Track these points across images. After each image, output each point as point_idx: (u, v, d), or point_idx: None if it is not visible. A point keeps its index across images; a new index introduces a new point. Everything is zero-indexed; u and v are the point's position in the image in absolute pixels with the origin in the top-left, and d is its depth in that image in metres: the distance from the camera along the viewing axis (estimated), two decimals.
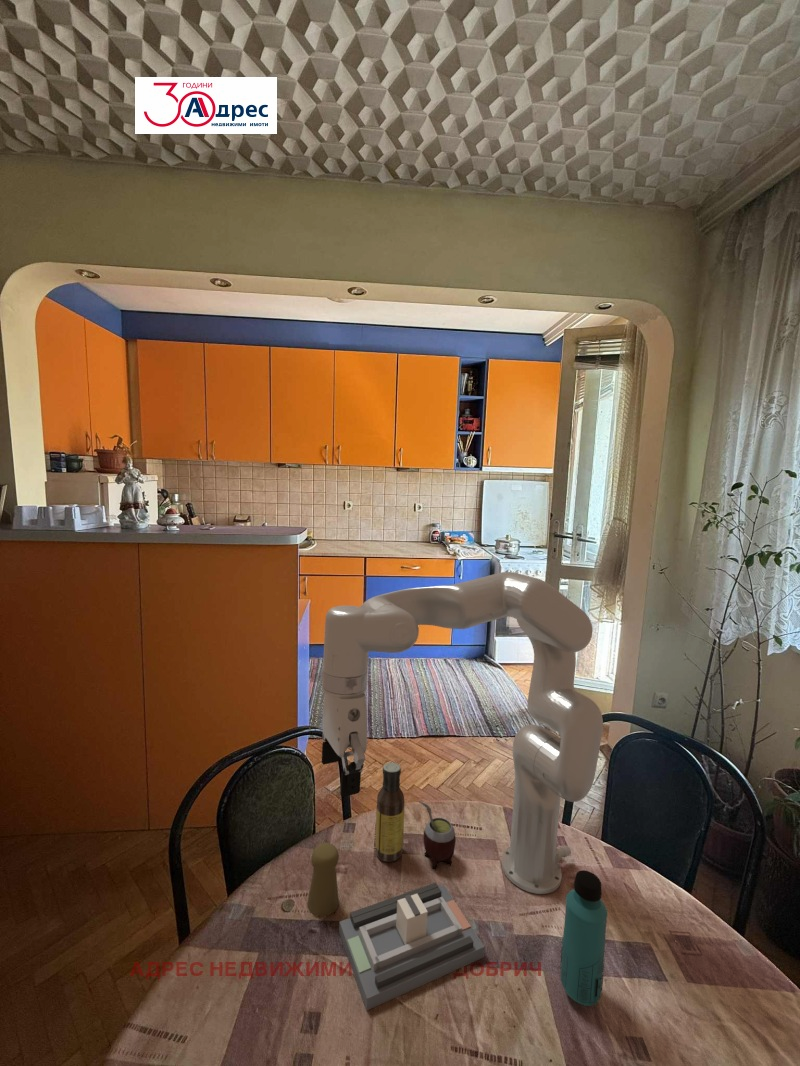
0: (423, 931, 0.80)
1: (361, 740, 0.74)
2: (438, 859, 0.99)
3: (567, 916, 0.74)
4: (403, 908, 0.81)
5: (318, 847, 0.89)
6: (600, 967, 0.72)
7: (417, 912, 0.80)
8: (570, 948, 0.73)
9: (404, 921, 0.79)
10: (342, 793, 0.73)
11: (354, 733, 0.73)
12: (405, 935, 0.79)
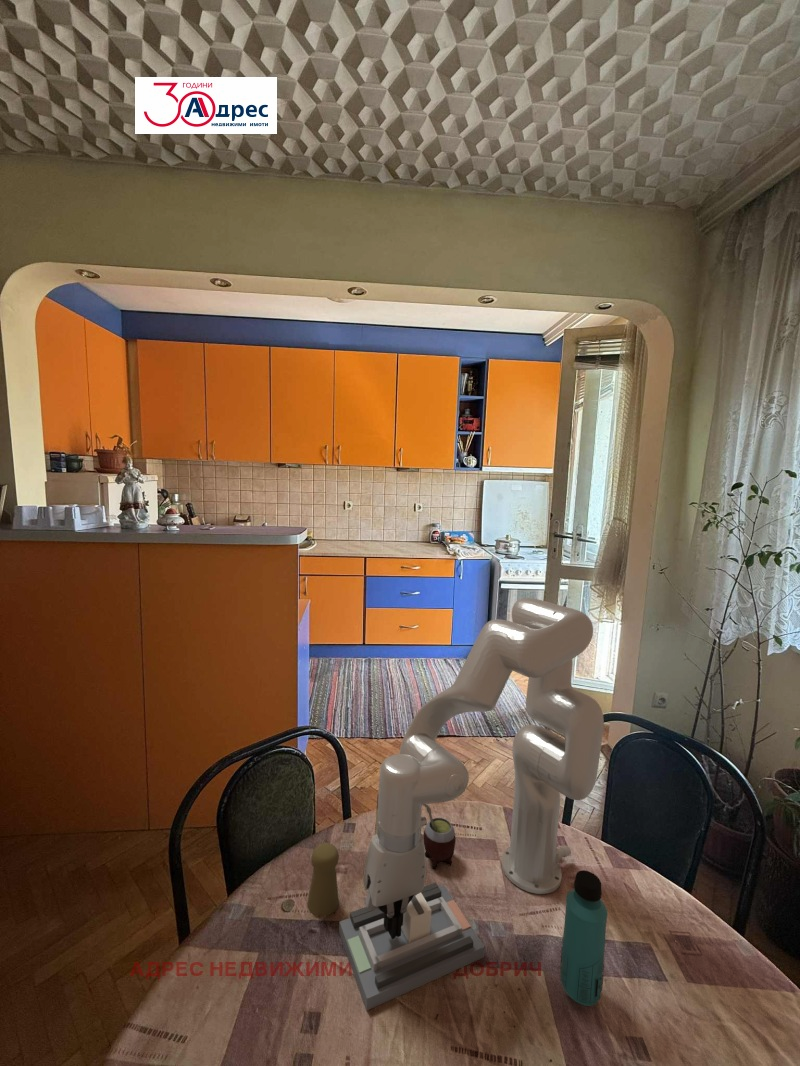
0: (427, 929, 0.81)
1: None
2: (438, 859, 0.99)
3: (567, 916, 0.74)
4: None
5: (318, 847, 0.89)
6: (600, 967, 0.72)
7: (421, 911, 0.80)
8: (570, 948, 0.73)
9: (408, 919, 0.80)
10: None
11: None
12: (408, 933, 0.80)
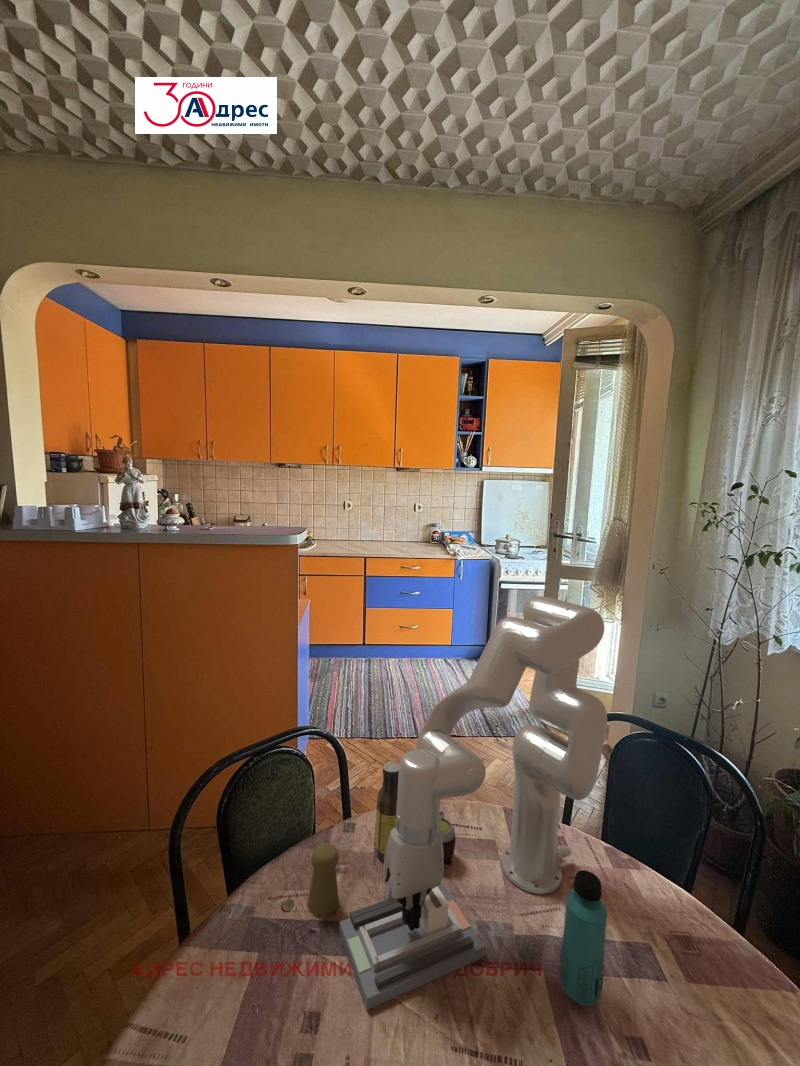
0: (444, 923, 0.82)
1: None
2: None
3: (567, 916, 0.74)
4: None
5: (318, 847, 0.89)
6: (600, 967, 0.72)
7: (438, 904, 0.82)
8: (570, 948, 0.73)
9: (426, 913, 0.81)
10: (418, 925, 0.81)
11: None
12: (426, 926, 0.81)
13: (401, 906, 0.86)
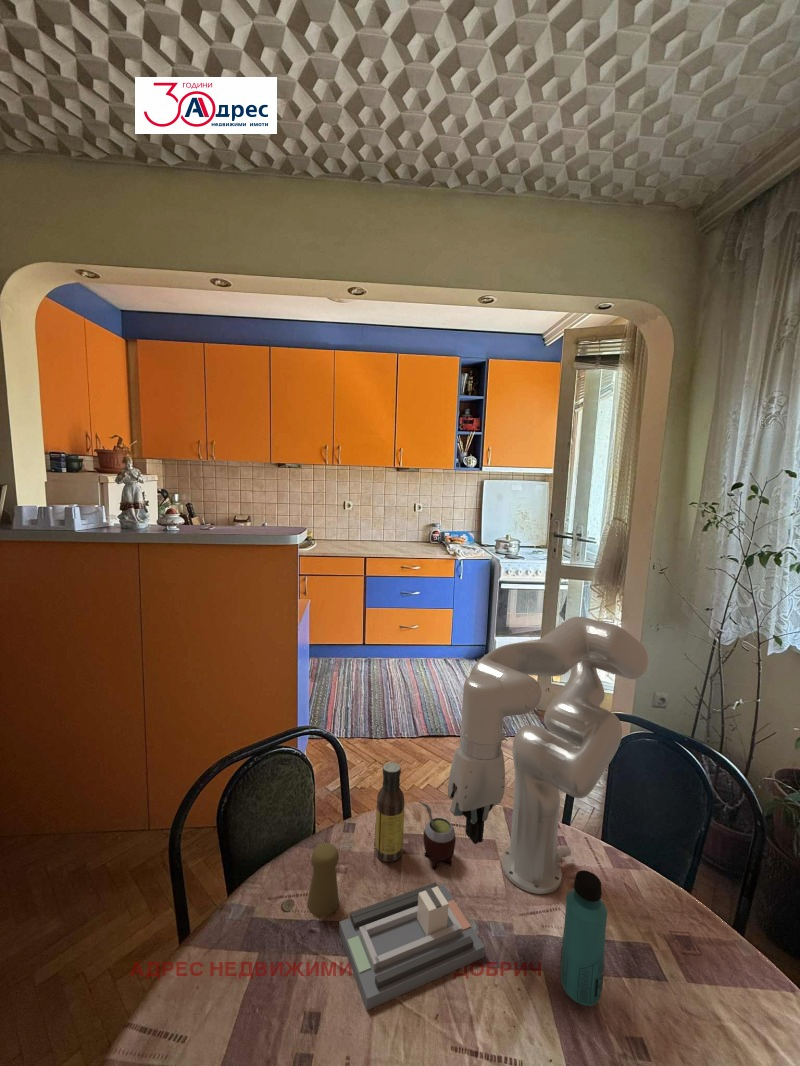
0: (444, 923, 0.82)
1: None
2: (438, 859, 0.99)
3: (567, 916, 0.74)
4: (424, 900, 0.83)
5: (318, 847, 0.89)
6: (600, 967, 0.72)
7: (438, 904, 0.82)
8: (570, 948, 0.73)
9: (426, 913, 0.81)
10: None
11: None
12: (426, 926, 0.81)
13: (401, 906, 0.86)
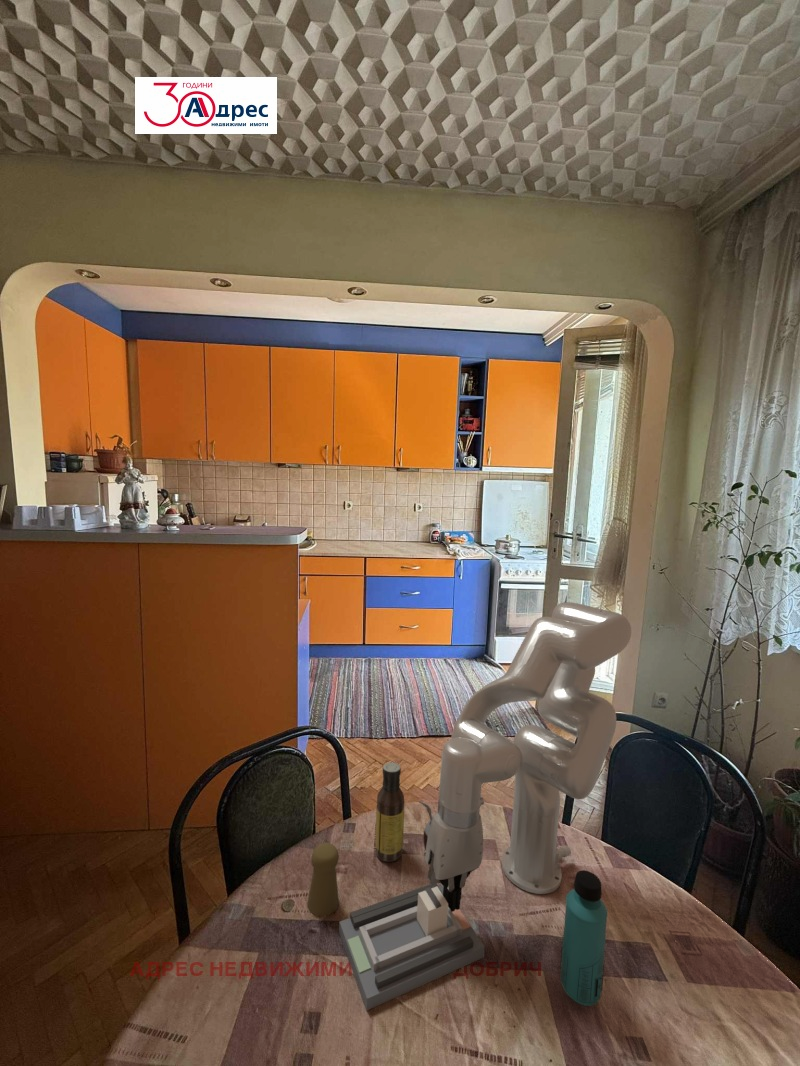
0: (444, 923, 0.82)
1: None
2: None
3: (567, 916, 0.74)
4: (424, 900, 0.82)
5: (318, 847, 0.89)
6: (600, 967, 0.72)
7: (438, 904, 0.82)
8: (570, 948, 0.73)
9: (426, 913, 0.81)
10: None
11: None
12: (426, 927, 0.81)
13: (401, 906, 0.86)
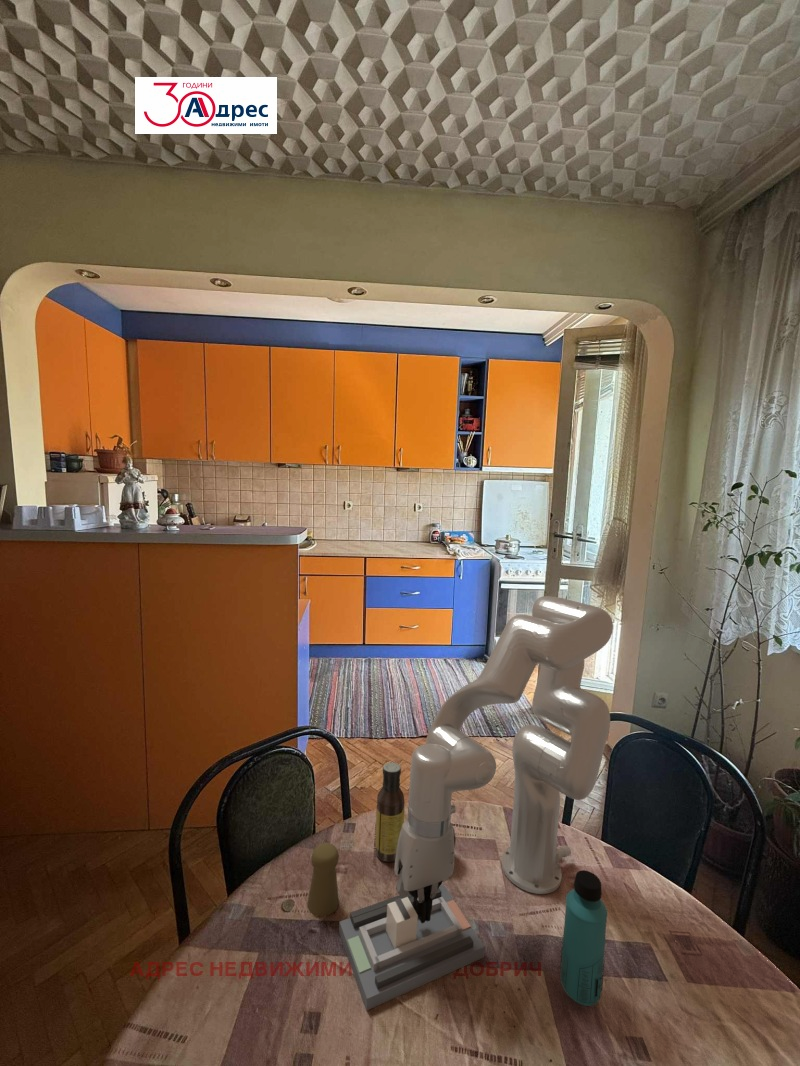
0: (413, 935, 0.80)
1: None
2: None
3: (567, 916, 0.74)
4: (392, 912, 0.80)
5: (318, 847, 0.89)
6: (600, 967, 0.72)
7: (407, 916, 0.79)
8: (570, 948, 0.73)
9: (394, 925, 0.79)
10: (429, 917, 0.81)
11: None
12: (394, 939, 0.78)
13: None
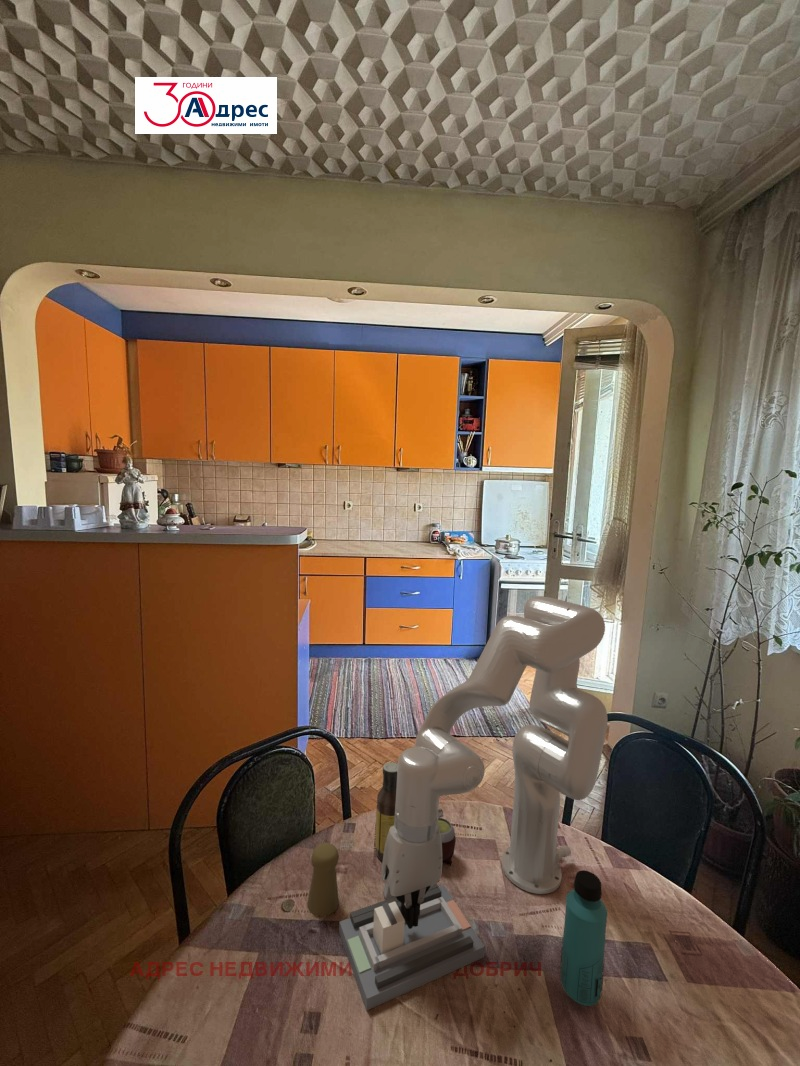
0: (400, 940, 0.78)
1: None
2: None
3: (567, 916, 0.74)
4: (379, 917, 0.79)
5: (318, 847, 0.89)
6: (600, 967, 0.72)
7: (394, 921, 0.78)
8: (570, 948, 0.73)
9: (381, 930, 0.78)
10: None
11: None
12: (381, 944, 0.77)
13: None
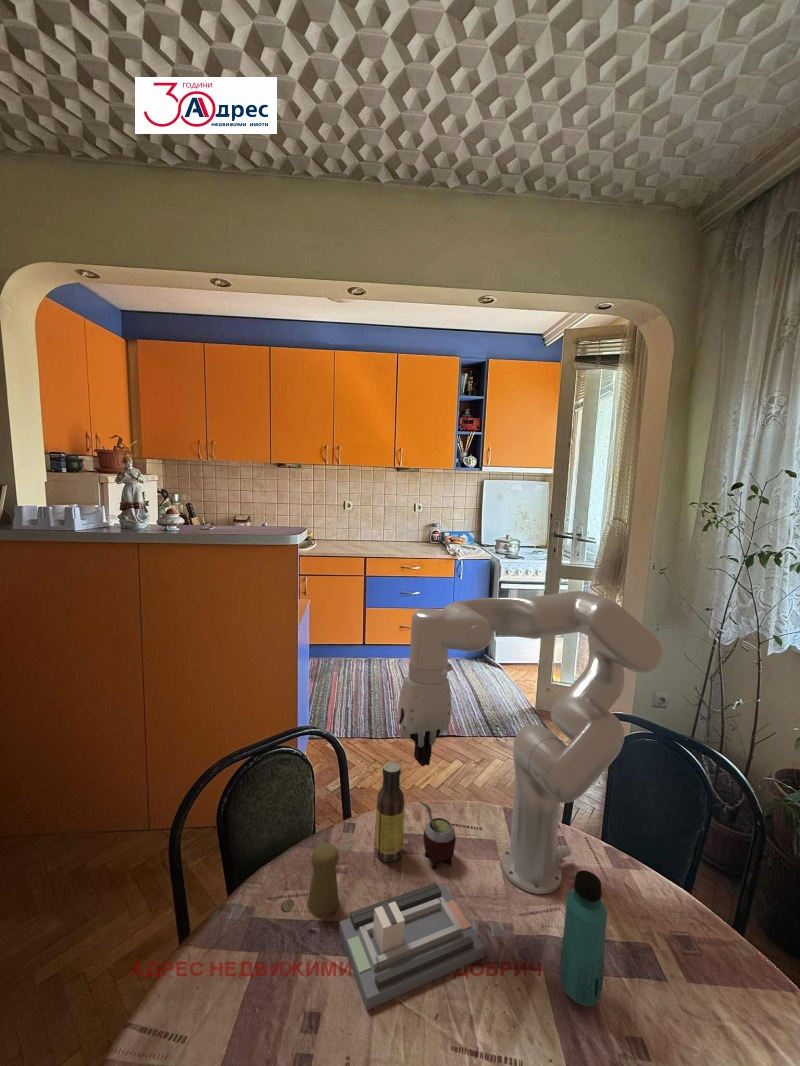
0: (400, 940, 0.78)
1: None
2: (438, 859, 0.99)
3: (567, 916, 0.74)
4: (379, 917, 0.79)
5: (318, 847, 0.89)
6: (600, 967, 0.72)
7: (394, 921, 0.78)
8: (570, 948, 0.73)
9: (381, 930, 0.78)
10: None
11: None
12: (381, 944, 0.77)
13: (401, 906, 0.86)
